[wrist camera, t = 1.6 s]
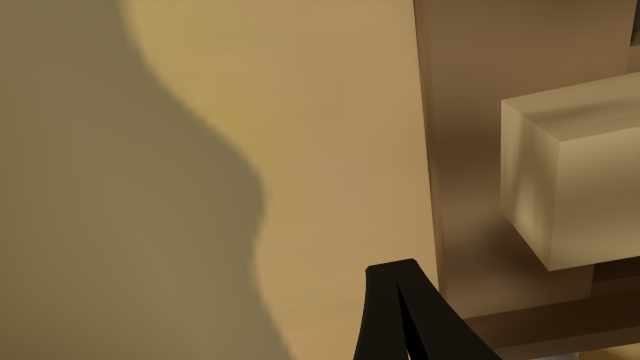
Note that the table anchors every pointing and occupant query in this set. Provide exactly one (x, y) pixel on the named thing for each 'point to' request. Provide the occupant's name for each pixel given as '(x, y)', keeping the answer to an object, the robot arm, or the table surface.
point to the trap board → (485, 167)
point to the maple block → (574, 171)
